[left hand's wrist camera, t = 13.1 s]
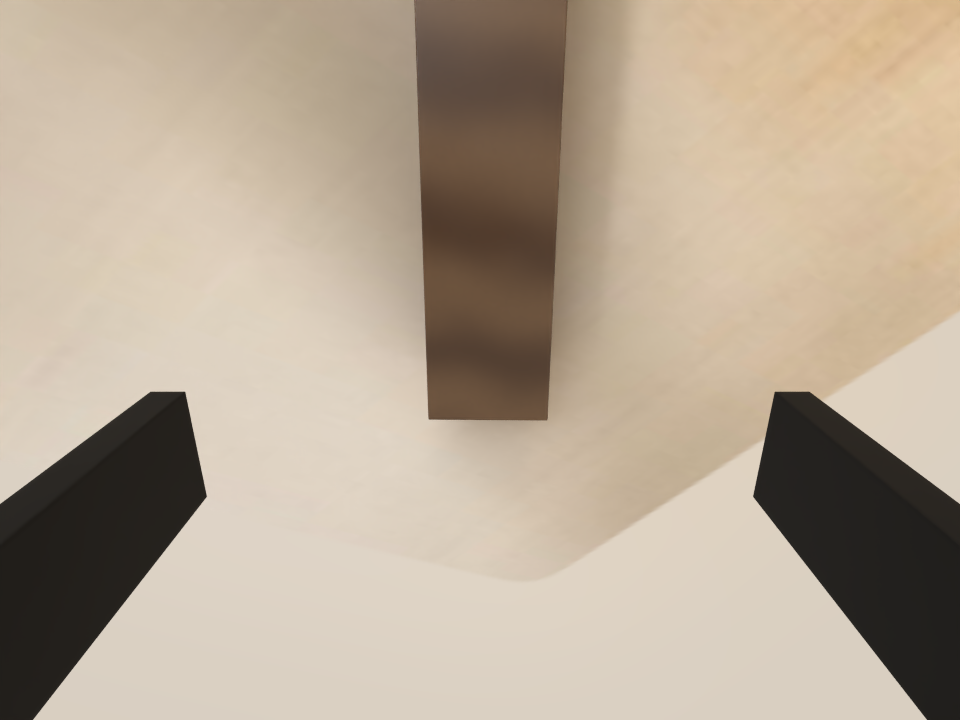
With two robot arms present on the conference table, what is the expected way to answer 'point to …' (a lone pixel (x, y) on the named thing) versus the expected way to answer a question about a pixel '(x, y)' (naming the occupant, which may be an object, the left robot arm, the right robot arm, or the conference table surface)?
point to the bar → (489, 201)
